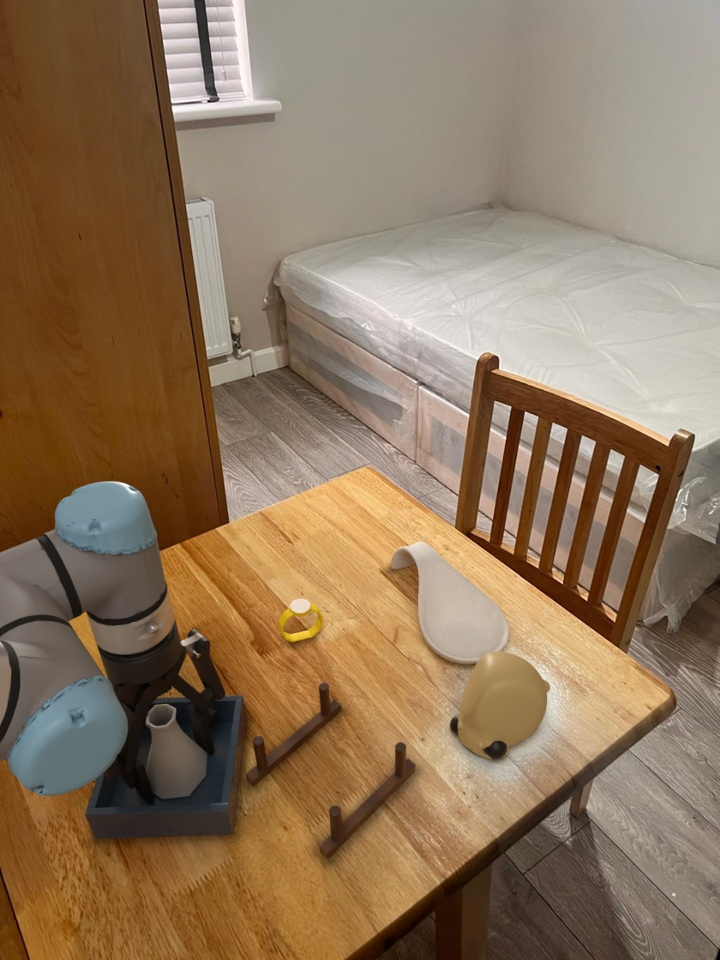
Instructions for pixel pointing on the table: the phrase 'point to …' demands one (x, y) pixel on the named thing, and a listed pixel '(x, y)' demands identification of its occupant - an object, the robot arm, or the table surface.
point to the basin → (192, 815)
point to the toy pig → (500, 705)
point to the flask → (172, 756)
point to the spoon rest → (453, 608)
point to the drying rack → (338, 829)
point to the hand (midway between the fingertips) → (175, 770)
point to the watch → (300, 609)
